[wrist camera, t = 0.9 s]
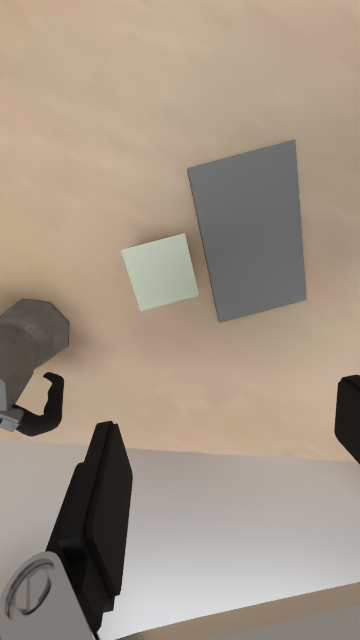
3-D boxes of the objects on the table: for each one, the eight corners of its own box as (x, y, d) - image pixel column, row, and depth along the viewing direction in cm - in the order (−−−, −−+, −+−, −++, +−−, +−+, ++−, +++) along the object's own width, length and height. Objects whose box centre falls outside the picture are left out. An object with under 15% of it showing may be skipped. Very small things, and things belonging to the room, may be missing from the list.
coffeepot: (-23, 334, 33) (-213, 435, 16) (1, 276, 31) (-191, 323, 14) (81, 381, 37) (14, 503, 20) (109, 332, 35) (61, 422, 18)
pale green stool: (178, 234, 31) (184, 233, 23) (189, 281, 33) (199, 295, 25) (130, 246, 31) (120, 250, 23) (145, 293, 33) (140, 311, 25)
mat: (292, 141, 29) (295, 139, 28) (304, 298, 35) (306, 299, 35) (187, 169, 29) (187, 168, 28) (218, 321, 35) (219, 322, 35)
